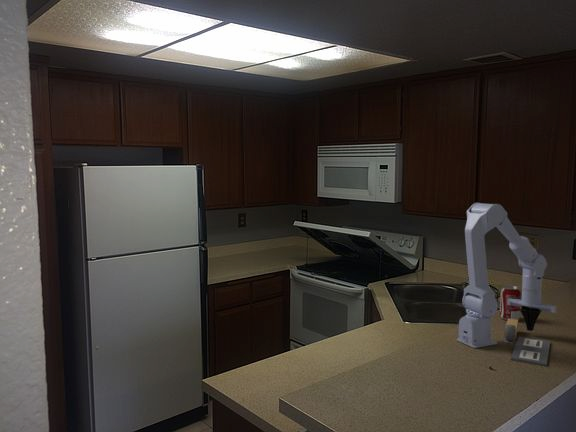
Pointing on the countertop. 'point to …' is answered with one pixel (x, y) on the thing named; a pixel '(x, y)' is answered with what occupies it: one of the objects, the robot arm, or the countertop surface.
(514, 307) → the soda can
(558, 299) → the countertop surface
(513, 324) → the bar
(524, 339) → the label plate
